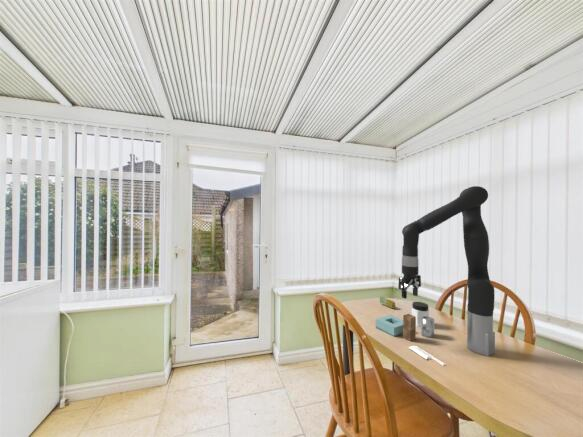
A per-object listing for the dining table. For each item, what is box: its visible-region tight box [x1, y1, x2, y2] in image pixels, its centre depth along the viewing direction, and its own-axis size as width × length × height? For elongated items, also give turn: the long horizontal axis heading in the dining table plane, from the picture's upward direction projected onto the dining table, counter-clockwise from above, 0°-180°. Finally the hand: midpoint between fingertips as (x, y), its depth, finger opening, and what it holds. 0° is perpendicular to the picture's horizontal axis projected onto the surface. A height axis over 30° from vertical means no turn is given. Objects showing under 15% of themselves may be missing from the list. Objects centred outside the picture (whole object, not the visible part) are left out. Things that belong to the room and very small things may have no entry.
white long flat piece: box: [408, 345, 447, 367], centre depth 103 cm, size 5×15×1 cm, turn 17°
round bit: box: [420, 316, 435, 339], centre depth 123 cm, size 6×6×9 cm
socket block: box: [375, 314, 403, 338], centre depth 129 cm, size 12×12×5 cm
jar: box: [411, 301, 430, 328], centre depth 136 cm, size 9×8×12 cm
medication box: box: [379, 296, 396, 309], centre depth 166 cm, size 12×3×4 cm, turn 22°
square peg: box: [402, 313, 417, 342], centre depth 119 cm, size 4×4×12 cm
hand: (409, 296), depth 119 cm, fingers open, 8 cm apart
